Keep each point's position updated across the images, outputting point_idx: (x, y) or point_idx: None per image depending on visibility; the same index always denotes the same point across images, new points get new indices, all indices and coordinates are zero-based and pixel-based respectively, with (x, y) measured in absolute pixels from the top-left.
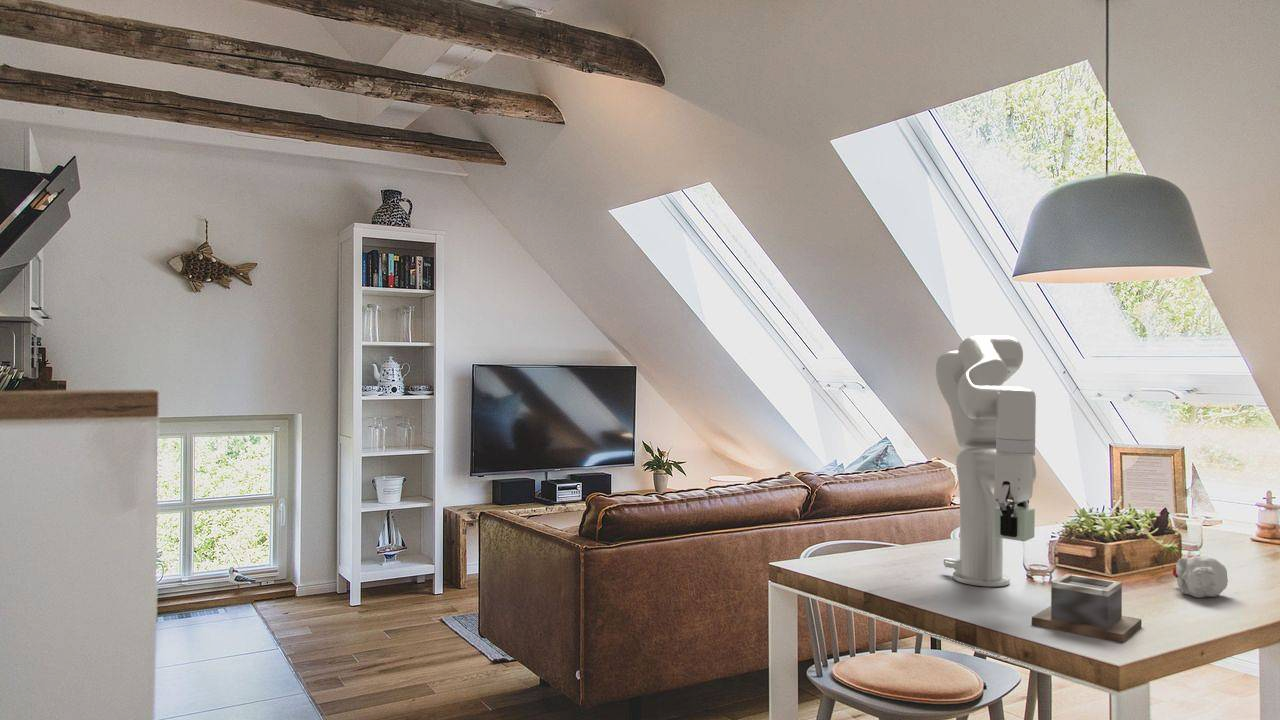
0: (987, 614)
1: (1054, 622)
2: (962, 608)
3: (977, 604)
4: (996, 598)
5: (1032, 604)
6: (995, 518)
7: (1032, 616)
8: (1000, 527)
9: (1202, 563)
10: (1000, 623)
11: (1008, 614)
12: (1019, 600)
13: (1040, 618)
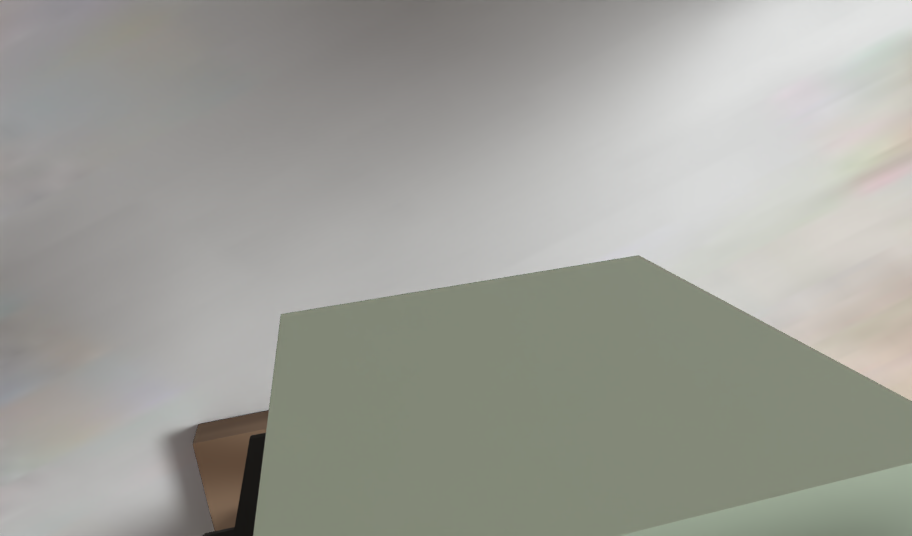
0: (178, 201)
1: (217, 530)
2: (166, 41)
3: (330, 57)
4: (539, 66)
5: (561, 244)
6: (267, 467)
7: (203, 441)
8: (244, 489)
9: None
10: (73, 331)
11: (279, 267)
12: (588, 167)
13: (204, 478)
